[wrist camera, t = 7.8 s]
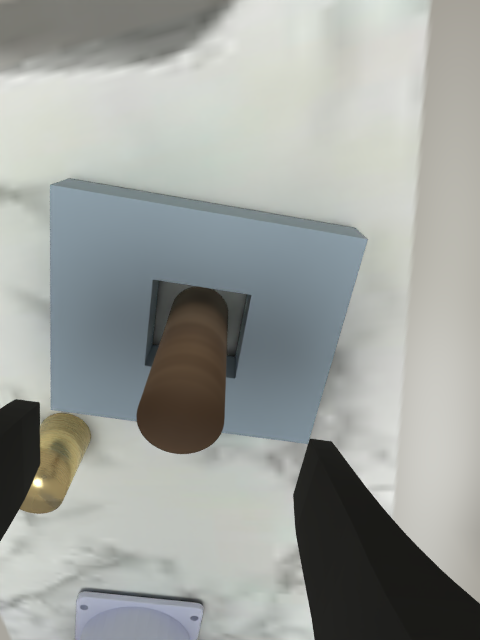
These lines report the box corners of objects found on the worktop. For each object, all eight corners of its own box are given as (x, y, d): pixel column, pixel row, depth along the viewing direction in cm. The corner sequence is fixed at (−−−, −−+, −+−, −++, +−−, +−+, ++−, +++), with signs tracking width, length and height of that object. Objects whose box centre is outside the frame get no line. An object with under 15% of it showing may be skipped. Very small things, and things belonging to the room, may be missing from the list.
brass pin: (90, 456, 24) (63, 516, 20) (40, 449, 24) (4, 509, 20) (91, 416, 23) (64, 473, 19) (40, 409, 23) (2, 465, 19)
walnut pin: (224, 341, 21) (219, 458, 14) (169, 334, 21) (134, 449, 14) (231, 290, 20) (229, 387, 13) (174, 283, 20) (138, 376, 12)
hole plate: (302, 418, 23) (307, 443, 21) (66, 385, 22) (50, 409, 20) (354, 228, 19) (367, 239, 17) (69, 178, 18) (50, 184, 16)
